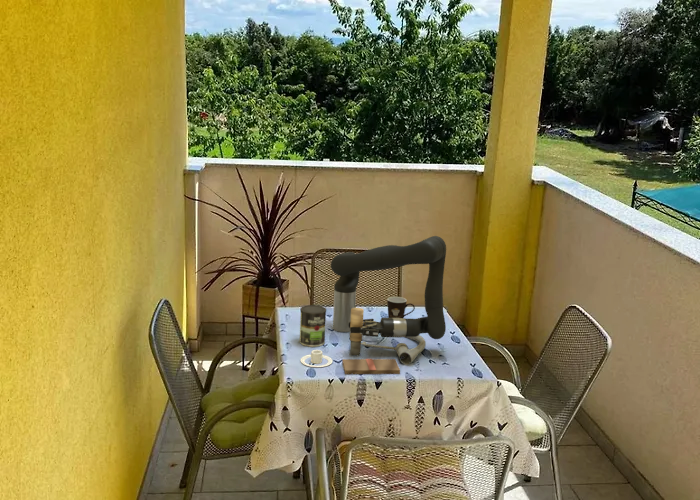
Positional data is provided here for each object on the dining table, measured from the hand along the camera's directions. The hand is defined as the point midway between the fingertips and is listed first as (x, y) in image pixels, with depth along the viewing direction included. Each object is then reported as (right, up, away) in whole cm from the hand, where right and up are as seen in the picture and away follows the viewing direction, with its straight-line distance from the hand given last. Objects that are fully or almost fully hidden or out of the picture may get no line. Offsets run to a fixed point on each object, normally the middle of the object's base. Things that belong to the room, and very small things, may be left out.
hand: (349, 327), depth 256 cm
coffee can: (-15, -8, +13) cm, 21 cm away
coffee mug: (+22, -2, +41) cm, 46 cm away
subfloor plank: (+8, -14, -10) cm, 19 cm away
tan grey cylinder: (+2, -11, +3) cm, 11 cm away
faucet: (+18, -10, +12) cm, 24 cm away
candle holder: (-12, -13, -6) cm, 19 cm away
